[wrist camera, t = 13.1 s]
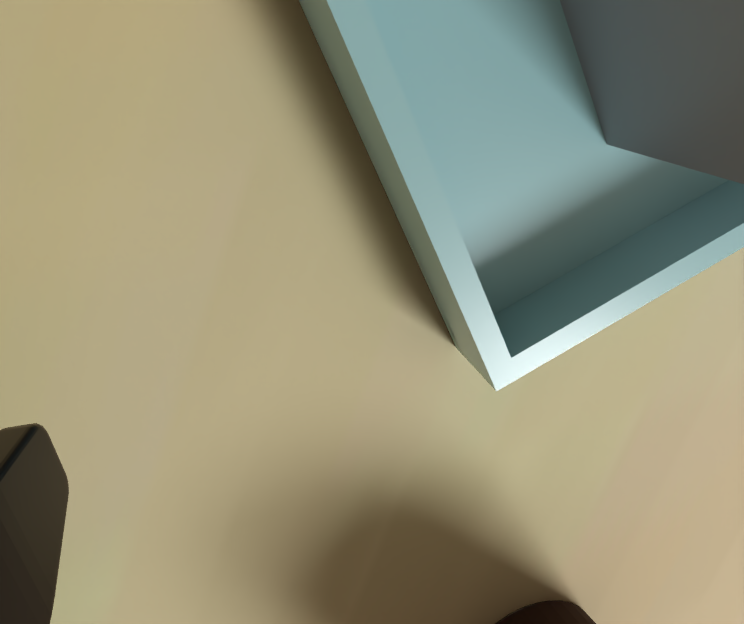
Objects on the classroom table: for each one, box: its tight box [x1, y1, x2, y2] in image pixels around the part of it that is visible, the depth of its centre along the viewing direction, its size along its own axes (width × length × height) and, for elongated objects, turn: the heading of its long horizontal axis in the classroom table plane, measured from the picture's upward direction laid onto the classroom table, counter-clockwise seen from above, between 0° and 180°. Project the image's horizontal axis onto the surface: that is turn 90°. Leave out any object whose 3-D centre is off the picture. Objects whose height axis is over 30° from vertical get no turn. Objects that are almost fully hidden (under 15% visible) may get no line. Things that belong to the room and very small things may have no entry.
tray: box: [299, 0, 744, 391], centre depth 19 cm, size 15×15×3 cm
